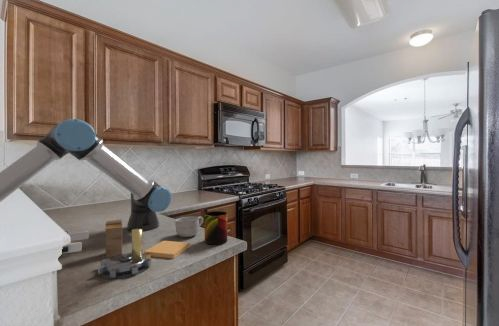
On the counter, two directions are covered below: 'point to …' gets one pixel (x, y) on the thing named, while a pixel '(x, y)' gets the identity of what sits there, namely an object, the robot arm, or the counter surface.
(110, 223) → the link block
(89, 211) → the counter surface
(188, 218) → the teacup
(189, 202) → the counter surface
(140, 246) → the sprocket
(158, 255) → the light orange square slab
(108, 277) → the sprocket plinth
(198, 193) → the counter surface
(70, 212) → the counter surface
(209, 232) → the mug
